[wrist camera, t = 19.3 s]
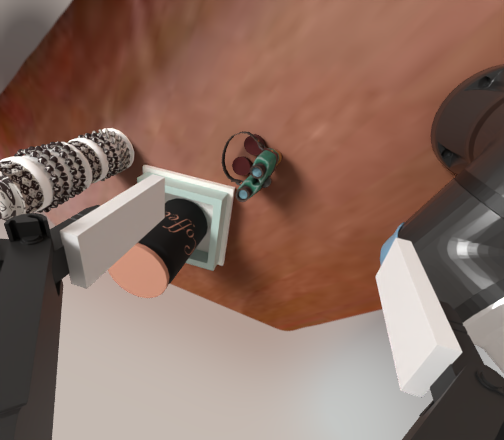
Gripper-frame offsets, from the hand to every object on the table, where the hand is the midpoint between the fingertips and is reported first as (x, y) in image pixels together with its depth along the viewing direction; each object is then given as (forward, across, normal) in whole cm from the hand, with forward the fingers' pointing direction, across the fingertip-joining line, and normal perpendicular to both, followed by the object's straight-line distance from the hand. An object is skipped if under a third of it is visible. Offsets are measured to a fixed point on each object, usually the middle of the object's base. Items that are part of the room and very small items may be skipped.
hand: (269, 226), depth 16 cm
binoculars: (+35, -8, -8) cm, 37 cm away
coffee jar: (+34, -20, -24) cm, 46 cm away
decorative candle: (+35, -36, -13) cm, 52 cm away
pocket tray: (+35, -20, -24) cm, 47 cm away
